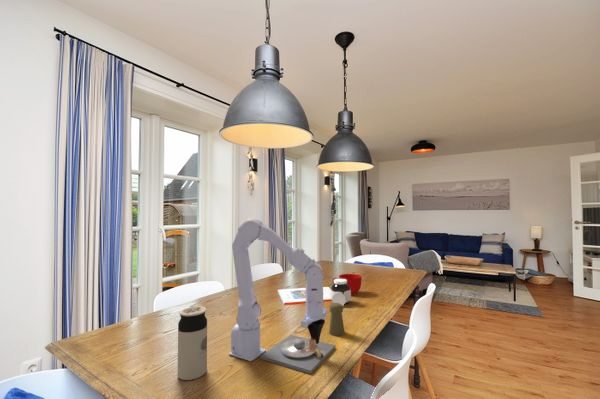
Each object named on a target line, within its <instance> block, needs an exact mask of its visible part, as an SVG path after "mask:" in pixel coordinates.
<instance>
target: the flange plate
mask: <svg viewBox="0 0 600 399" xmlns="http://www.w3.org/2000/svg"><path fill="white" fill-rule="evenodd" d="M308 339H309V340H308ZM295 340H297V339H292V340H289V341H286V342H285V343H283V344H282V346H281V352H282V354H283V355H285V356H286V357H289V358H293V359H304V358H309V357H311V356H313V355H317V349H318V347H317V344H316V338H311V337H310V338H307V339H302V340H304V341H305V347H304V348H295V347H294V341H295ZM321 356H322V357H324V356H325V351H321Z"/></svg>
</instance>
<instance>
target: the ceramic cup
mask: <svg viewBox="0 0 600 399" xmlns="http://www.w3.org/2000/svg"><path fill="white" fill-rule="evenodd" d="M362 277H363V276H362V275H360V274H356V273H343V274H340V275H339V276H338V277H334V278H333V279H332V280H331V281H332V285H333V284H334V280H335V279H346V280H347V284H348V285H349V287H350V289H351V296H354V295H353V294H356V295H357V294H358V293H359V291H360V289H361V286H362V280H363V279H362Z"/></svg>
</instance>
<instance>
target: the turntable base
mask: <svg viewBox="0 0 600 399" xmlns="http://www.w3.org/2000/svg"><path fill="white" fill-rule="evenodd" d="M292 339H297V340H295V341H294V347H295V348H304V347H305V341H304V340H302V339H308V340H309V339H310V338H306V337H301V336H298V335H294V334H289V336H287V337H285V338H284V339H282V340H281V341H280V342H278V343H277V344H275V345H274V346H273V347H271V348H269V349H268V350H266V351H265V352H264V353H262V354H261V355H260V360H263V361H266V362H269V363H272V364H276V365H279V366H283V367H286V368H289V369H293V370H296V371H298V372H302V373H305V374H308V375H312V373H314V372H315V370H316V369H317V368H318V367H319V366H320V365H321V364H322V363H323V362H324V361H325V360H326V359H327V358H328V357H329V355H331V354H332V352H334V351H335V349H336V344H332V343H328V342H324V341H320V340H319V343H318V344H317V347H318V349H317V355H313V356H311V357H309V358H304V359H293V358H289V357H286V356H285V355H283V354H282V352H281V346H282V344H283V343H285V342H286V341H289V340H292ZM321 351H325V356H324V357H322V356H321Z"/></svg>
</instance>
